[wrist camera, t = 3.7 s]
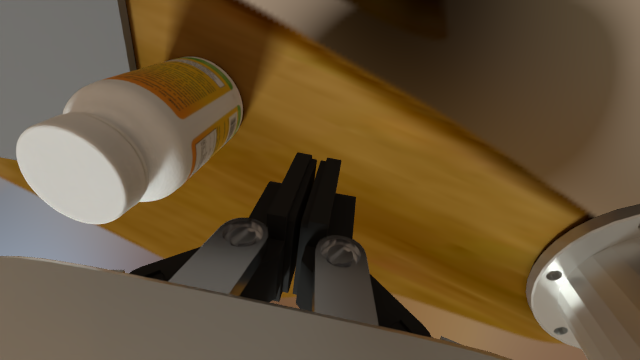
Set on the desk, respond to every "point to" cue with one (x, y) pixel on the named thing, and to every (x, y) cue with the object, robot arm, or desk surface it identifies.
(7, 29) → the rubber mat
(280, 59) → the desk surface
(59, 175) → the supplement bottle
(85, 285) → the robot arm
